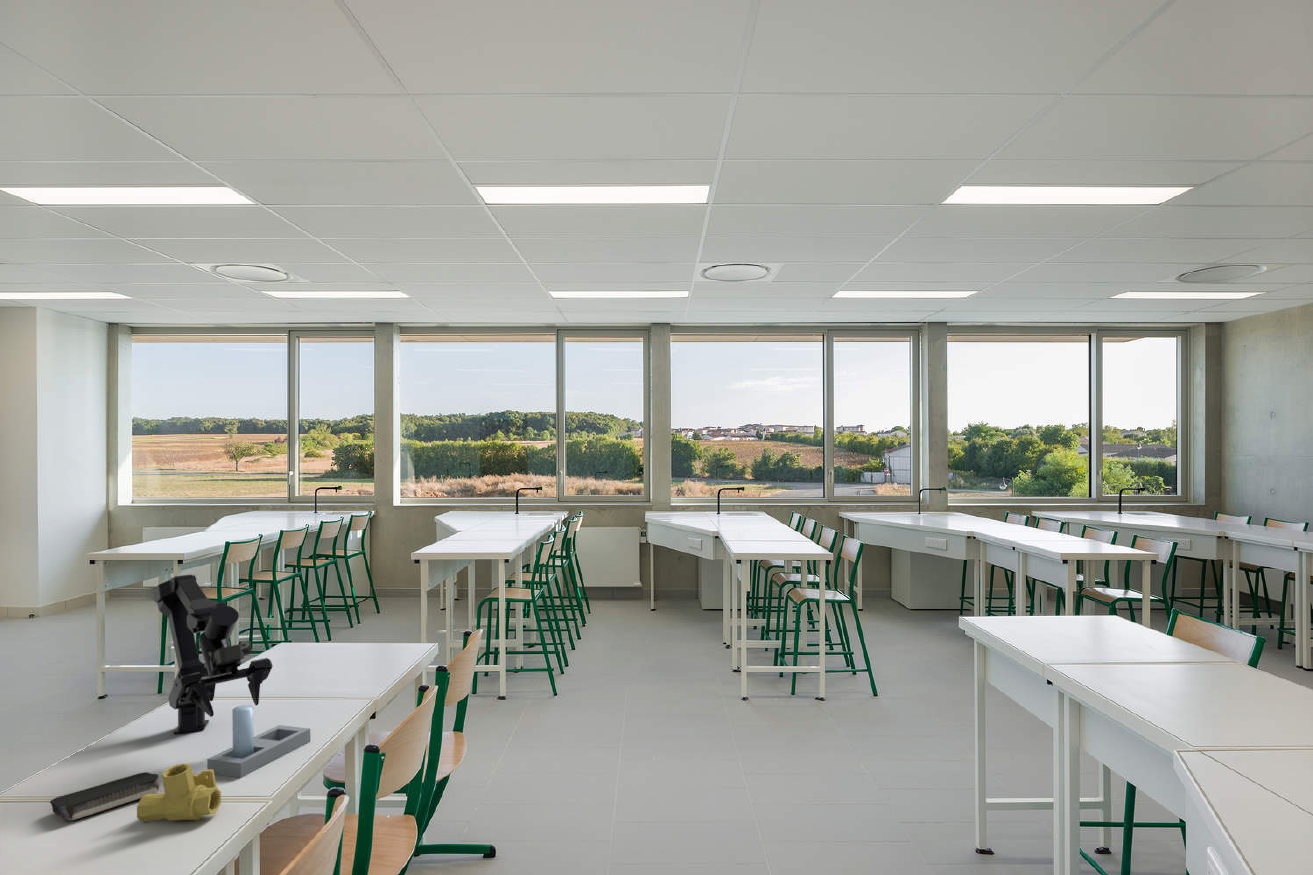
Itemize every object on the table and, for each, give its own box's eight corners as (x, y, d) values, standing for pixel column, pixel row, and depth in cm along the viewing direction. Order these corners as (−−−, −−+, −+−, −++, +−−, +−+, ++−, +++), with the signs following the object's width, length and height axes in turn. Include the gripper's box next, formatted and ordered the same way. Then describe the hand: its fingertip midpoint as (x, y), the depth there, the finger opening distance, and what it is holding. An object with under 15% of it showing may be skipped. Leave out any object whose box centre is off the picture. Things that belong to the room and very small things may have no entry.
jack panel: (240, 777, 156) (240, 763, 156) (207, 772, 159) (207, 758, 159) (310, 741, 176) (310, 728, 176) (279, 737, 178) (279, 724, 178)
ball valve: (209, 828, 137) (237, 795, 147) (200, 776, 136) (229, 745, 146) (137, 835, 136) (170, 801, 147) (128, 782, 135) (162, 752, 145)
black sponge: (62, 828, 137) (62, 808, 137) (49, 815, 142) (49, 795, 142) (163, 795, 149) (163, 777, 149) (148, 784, 155) (148, 766, 155)
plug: (234, 763, 164) (234, 706, 164) (255, 760, 165) (254, 704, 165) (231, 770, 160) (230, 712, 160) (252, 767, 161) (251, 709, 161)
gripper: (179, 639, 162) (196, 700, 155) (269, 623, 176) (289, 678, 169) (168, 669, 168) (184, 729, 160) (256, 651, 181) (275, 706, 174)
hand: (235, 709), depth 166 cm, fingers open, 9 cm apart
